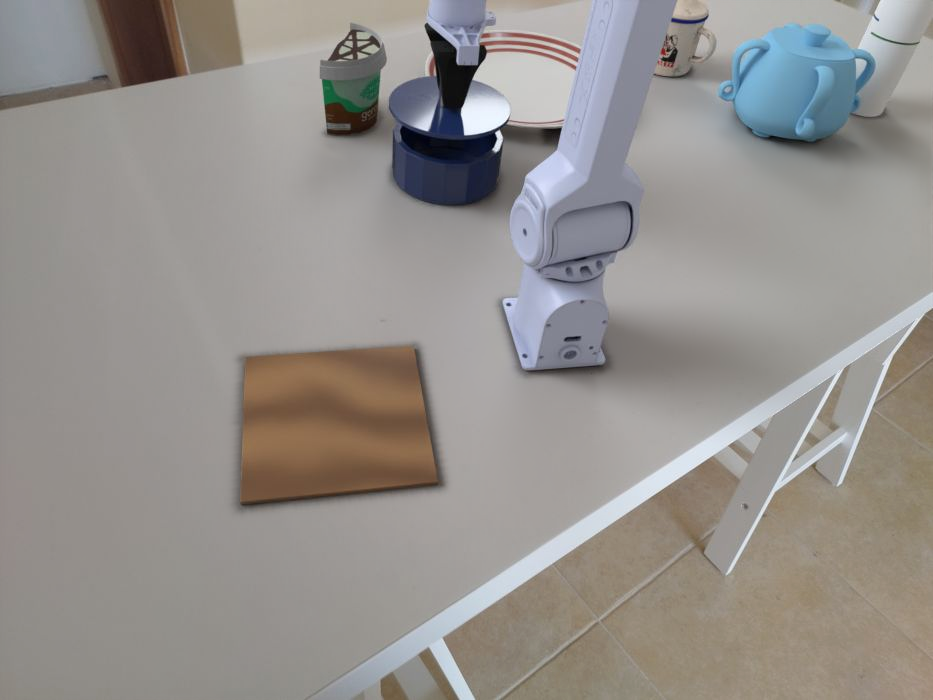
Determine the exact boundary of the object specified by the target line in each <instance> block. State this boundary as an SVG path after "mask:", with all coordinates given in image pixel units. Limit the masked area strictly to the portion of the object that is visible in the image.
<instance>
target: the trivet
mask: <svg viewBox="0 0 933 700" xmlns="http://www.w3.org/2000/svg"><path fill="white" fill-rule="evenodd" d="M244 359H245V360H244V382H243V383H244V385H243V386H244V388H243V409H242V410H243V415H242V436H241V437H242V439H241V441H242V442H241V463H240V464H241V466H240V467H241V468H240V493H239V494H240V495H239V498H240V499H239V504H240V505H251V504H261V503H262V504H263V503H271V502H281V501H291V500H299V499H300V500H301V499H309V498H319V497H320V498H321V497H329V496H341V495H350V494H358V493H369V492H377V491H378V492H379V491H388V490H396V489H407V488H416V487H417V488H418V487H426V486H435V485H439V479H438V474H437V473H438V472H437V468H436V467H437V466H436V462H435V457H434V450H433V446H432V441H431V440H432V439H431V434H430V430H429V429H430V428H429V423H428V417H427V411H426V406H425V401H424V395H423V388H422V384H421V383H422V382H421V378H420V373H419V367H418V366H419V365H418V361H417V355H416V350H415V346H414V345H401V346H400V345H399V346H387V347H386V346H385V347H372V348H371V347H370V348H356V349H344V350H342V349H341V350H327V351H313V352H312V351H311V352H298V353H284V354H270V355H269V354H268V355H255V356H253V355H252V356H245V358H244Z"/></svg>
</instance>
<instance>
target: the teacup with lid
mask: <svg viewBox="0 0 933 700" xmlns="http://www.w3.org/2000/svg"><path fill="white" fill-rule="evenodd" d="M709 15H710V14H709V7H708V6H707V4H705V3H704V2H703V1H701V0H678V1H677V4H676V7H675V10H674V13H673V16H672V19H671V22H670V25H669V28H668V31H667V35H666V38H665V41H664V44H663V47H662V50H661V53H660V56H659V59H658V62H657V65H656V68H655V71H654V75H657V76H661V77H662V76H663V77H680V76H683V75H686V74H687V73H688V72H690V70H691V67H692V64H693V63H695V64H701V63H704V62H706V61H707V60H709V59H711V58H712V56H713V54H714V53H715V50H716V48H717V37H716V35H715V34H714V32H713V31H712V30H710V29H708V28H705V27H704V26H705V24H706V20H708V19H709ZM701 36H704V37H706V38H707V40H708V43H709V47H708V50H707V51H706V53H705V54H704V55H703V56H696V52H697V48H698V46H699V42H700V39H701Z"/></svg>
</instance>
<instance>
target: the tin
mask: <svg viewBox="0 0 933 700" xmlns="http://www.w3.org/2000/svg"><path fill="white" fill-rule="evenodd" d="M504 141H505V140H504V137H503V134H502V131H501V129H500V130H499V131H497V132H495V133H493V134H491V135H488V136H484V137H480V138H475V139H464V140H451V139H441V138H435V137H431V136H426V135H423V134H420V133H417V132H415V131H412V130H410V129H408V128H406V127H405V126H403V125H402V124H400V123H399V122H398V121H396V123H395V125H394V127H393V128H392V151H391V152H392V153H391V155H392V157H391V158H392V159H391V164H392V165H391V168H392V174H393V180H394V181H395V183H396V185H397V186H398V187H399V188H400V189H401V190H402V191H403V192H405V193H406V194H408V195H409V196H411V197H413V198H415V199H417V200H419V201H422V202H425V203H430V204H435V205H442V206H459V205H461V206H462V205H466V204H471V203H475V202H478V201H480V200H483V199H485V198H486V197H488V196H489V195H490V194H492V192H493V191H494V190H495V189H496V186H497V185H498V181H499V180H498V179H499V176H500V170H501V164H502V156H503V155H502V154H503V148H504Z"/></svg>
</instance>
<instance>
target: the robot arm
mask: <svg viewBox="0 0 933 700" xmlns="http://www.w3.org/2000/svg"><path fill="white" fill-rule="evenodd" d="M487 1H488V0H428V2H429V3H428V8H427V10H426V22H425V23H424V30H425V33H426V36H427V37H428V39H429V42H430V43H429V45H430V48H431V52H432V51H433V55H434V61H435V69H436V78H437V85H438V89H439V88H440V85H441V96H442V102H443V105H444V108H462V107H463V105H464V103H465V100H466V97H467V94H468V91H469V88H470V85H471V82H472V79H473V77H474V75H475V73H476V71H477V69H478V68H479V66H480V65H481V63H482V62H483V61H484V60H485V58H486V55H487V50H486V47H485V45H479V42H480V39H481V37H482V34H483V32H484V31H485V29H486V27H493V26H496V24H497V17H496V14H495V13H494V12H493V11H490V10H486V9H487ZM677 1H678V0H592V1H591V5H590V9H589V13H588V18H587V22H586V26H585V31H584V36H583V39H582V43H581V46H582V47H581V51H580V55H579V59H578V64H577V68H576V72H575V76H574V80H573V85H572V89H571V93H570V97H569V101H568V106H567V110H566V114H565V118H564V122H563V127H562V128H561V131H560V135H559V140H558V144H557V147H556V150H555V151H554V152H553V153H551V155H550V156H549V157H547V158H546V159H545V160H543V161H542V162H541V163H539V164H538V165H537V166H535V168H533V169H532V170H531V171H529V172H528V173H527V174H526V176H525V177H524V181H523V187H522V189H521V192H520V194H519V195H518V196H517V198H516V199H515V201H514V202H513V206H512V207H511V211H510V215H509V233H510V237H511V242H512V245H513V249H514V250H515V253H516V255H517V256H518V258H519V259H520V260H521V262H523V266H522V271H521V275H520V276H521V277H520V282H519V288H518V292H517V297H505V298H503V299H502V307H503V310H504V314H505V316H506V320H507V322H508V326H509V330H510V333H511V336H512V339H513V342H514V346H515V349H516V353H517V356H518V359H519V363H520V365H521V368H522V369H523V370H525V371H538V370H539V371H540V370H552V369H565V368H578V367H579V368H580V367H593V366H602V365H604V364H605V363H606V361H607V360H606V359H607V358H606V357H605V354H604V352H603V349H602V344H603V341H604V339H605V334H606V331H607V329H608V325H609V323H610V322H609V321H610V310H609V307H608V303H607V301H606V297H605V295H604V293H605V292H604V278H605V272H606V268H607V266H609V265H610V264H614V263H615V261H616V258H617V254H618V252H622V251H625V250H628V249H629V248H630V247H631V246H632V245H633V244H634V242H635V241H636V238H637V235H638V232H639V227H640V206H641V202H642V198H643V195H644V193H645V188H644V186H643V184H642V182H641V180H640V178H639V176H638V175H637V173H636V171H635V170H634V169H633V168H632V167H631V166H630V165H629V164H628V163H627V162H626V161H627V157H628V155H629V151H630V148H631V145H632V142H633V139H634V136H635V133H636V130H637V126H638V124H639V121H640V117H641V115H642V112H643V109H644V105H645V102H646V100H647V96H648V93H649V90H650V86H651V84H652V80H653V77H654V75H655V74H654V71H655V68H656V65H657V62H658V59H659V56H660V53H661V50H662V47H663V44H664V41H665V38H666V35H667V31H668V28H669V25H670V22H671V19H672V16H673V13H674V10H675V7H676V4H677Z"/></svg>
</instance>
